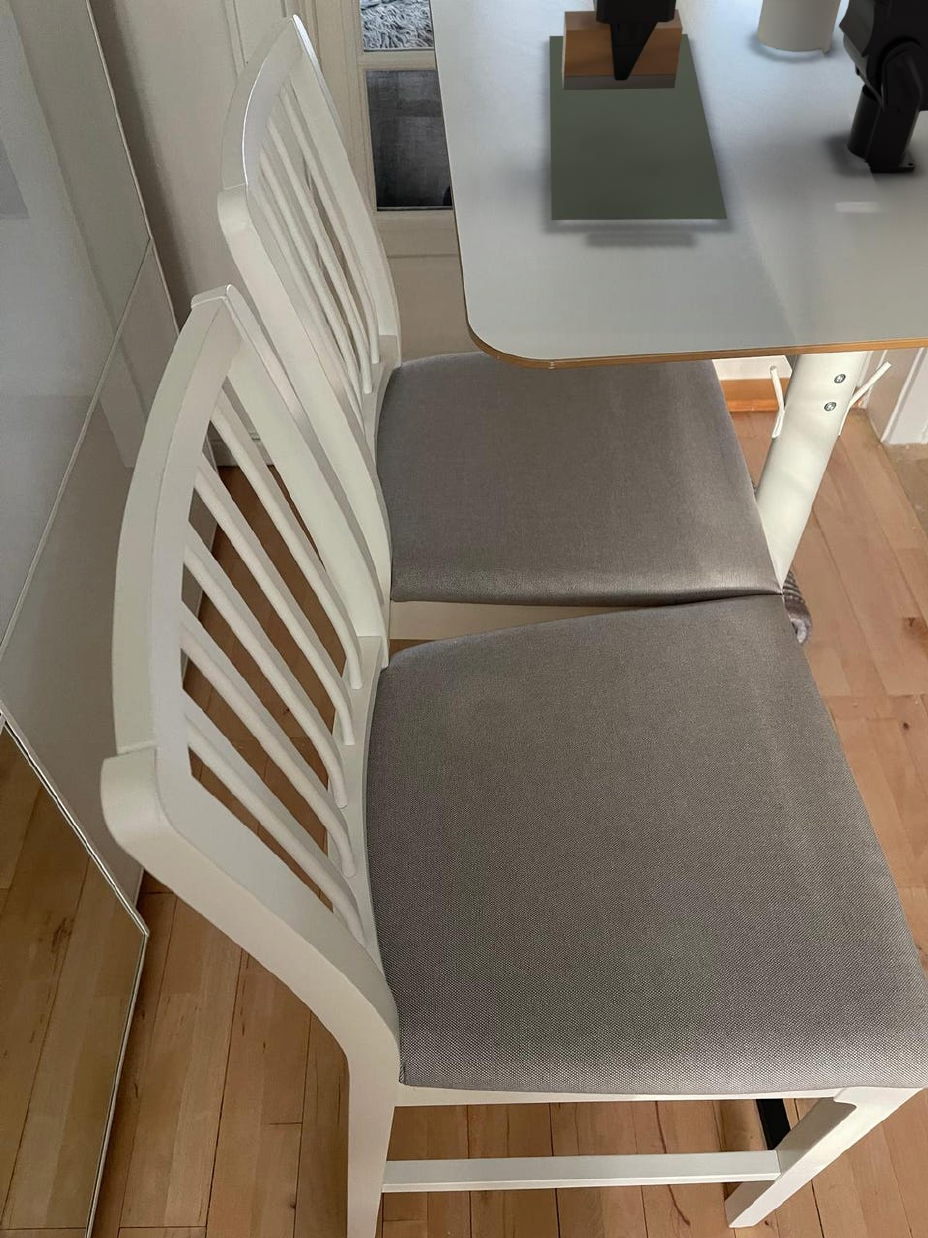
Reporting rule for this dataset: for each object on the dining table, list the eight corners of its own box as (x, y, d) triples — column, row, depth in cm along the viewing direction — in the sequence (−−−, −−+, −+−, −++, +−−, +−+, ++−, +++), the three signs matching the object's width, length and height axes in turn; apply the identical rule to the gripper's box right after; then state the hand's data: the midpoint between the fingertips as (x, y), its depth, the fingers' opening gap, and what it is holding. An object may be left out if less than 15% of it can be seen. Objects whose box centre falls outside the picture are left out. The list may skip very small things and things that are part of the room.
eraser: (674, 88, 88) (682, 27, 84) (563, 90, 89) (566, 30, 85) (670, 68, 91) (678, 8, 87) (561, 70, 91) (564, 10, 87)
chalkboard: (725, 228, 90) (727, 218, 89) (550, 229, 91) (551, 219, 90) (686, 42, 115) (687, 33, 114) (549, 44, 116) (549, 35, 115)
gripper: (532, -174, 83) (528, 27, 95) (535, -99, 71) (531, 119, 84) (665, -179, 82) (644, 25, 95) (690, -104, 71) (663, 117, 83)
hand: (618, 68), depth 89 cm, fingers closed on eraser, 4 cm apart
